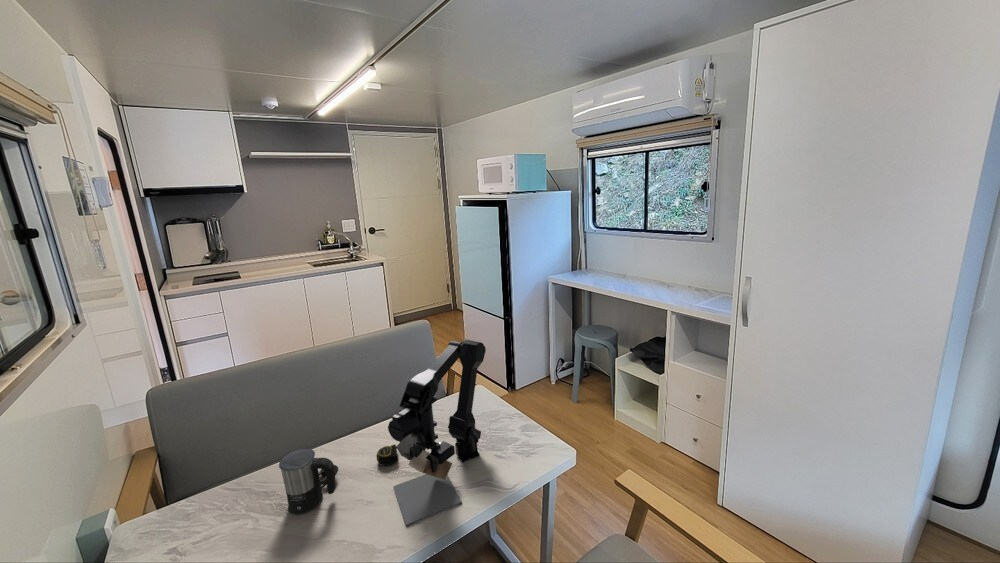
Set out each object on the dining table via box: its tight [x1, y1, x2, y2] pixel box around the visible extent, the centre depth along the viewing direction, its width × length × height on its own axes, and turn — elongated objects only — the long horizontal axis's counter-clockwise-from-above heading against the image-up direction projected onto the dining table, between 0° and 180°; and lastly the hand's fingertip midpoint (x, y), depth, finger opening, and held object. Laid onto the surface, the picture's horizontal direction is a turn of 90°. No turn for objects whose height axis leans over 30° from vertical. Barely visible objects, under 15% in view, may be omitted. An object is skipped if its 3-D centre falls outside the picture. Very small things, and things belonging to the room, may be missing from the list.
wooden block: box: [408, 450, 453, 480], centre depth 113 cm, size 5×5×12 cm
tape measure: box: [376, 444, 399, 466], centre depth 127 cm, size 7×7×4 cm
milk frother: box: [278, 448, 339, 515], centre depth 113 cm, size 14×16×15 cm
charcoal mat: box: [392, 473, 463, 527], centre depth 112 cm, size 16×16×1 cm
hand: (428, 468), depth 112 cm, fingers closed on wooden block, 5 cm apart
